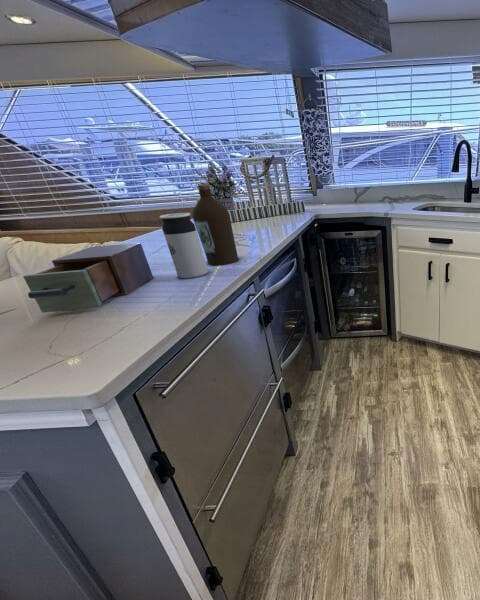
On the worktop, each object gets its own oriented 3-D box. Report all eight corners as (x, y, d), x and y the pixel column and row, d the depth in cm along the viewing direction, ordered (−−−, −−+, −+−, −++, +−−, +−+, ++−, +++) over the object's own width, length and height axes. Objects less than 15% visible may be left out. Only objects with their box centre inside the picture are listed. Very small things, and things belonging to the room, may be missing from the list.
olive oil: (228, 255, 118) (209, 183, 108) (246, 259, 113) (229, 183, 103) (199, 263, 109) (176, 186, 99) (218, 267, 104) (195, 186, 94)
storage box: (126, 294, 84) (110, 255, 80) (71, 300, 82) (51, 260, 78) (153, 277, 97) (140, 242, 93) (106, 281, 95) (91, 246, 91)
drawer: (86, 314, 71) (69, 277, 68) (26, 321, 69) (4, 282, 66) (130, 286, 87) (118, 255, 84) (82, 291, 85) (67, 259, 82)
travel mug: (205, 268, 103) (188, 211, 96) (210, 274, 98) (193, 214, 91) (176, 274, 99) (156, 215, 92) (180, 280, 93) (159, 218, 86)
